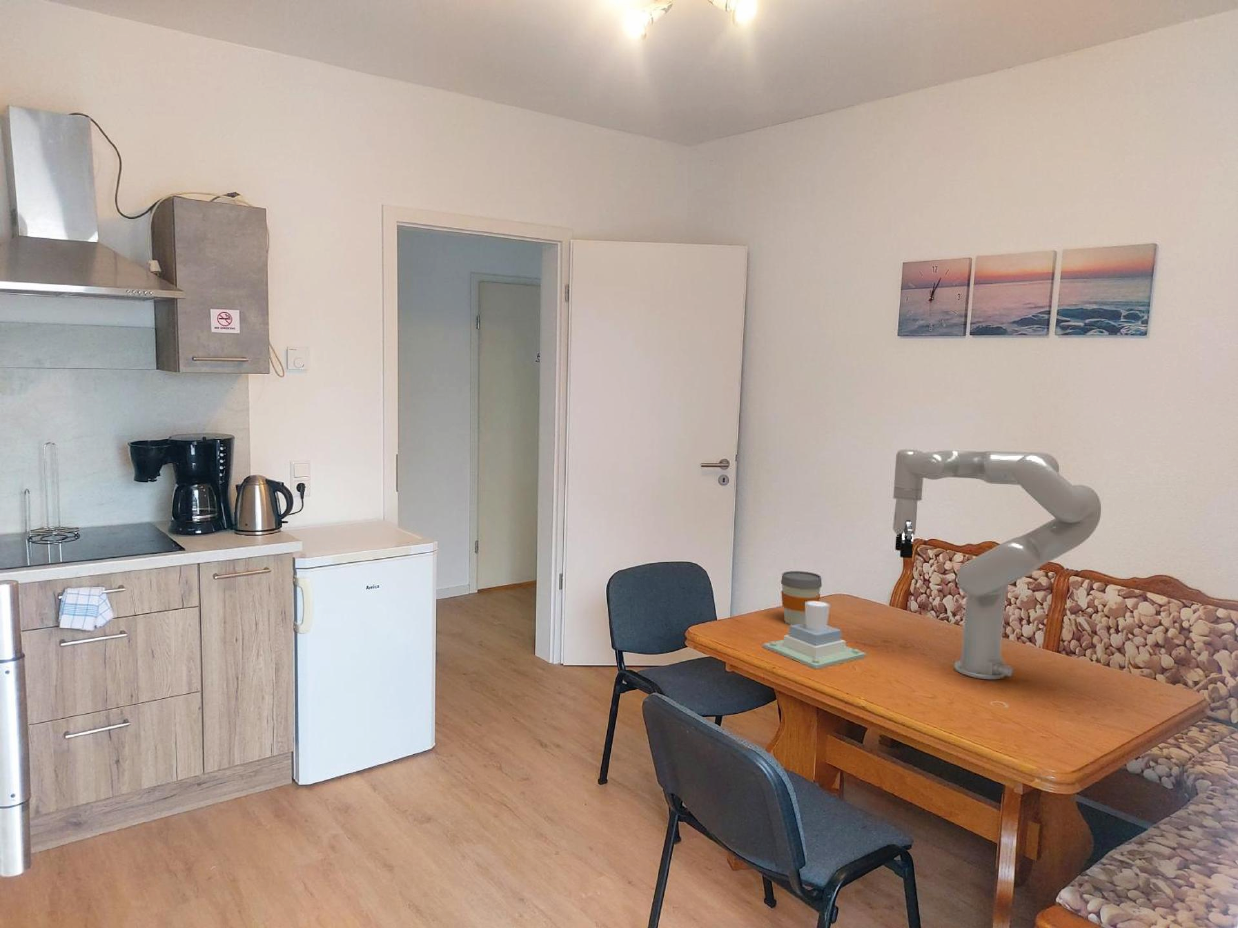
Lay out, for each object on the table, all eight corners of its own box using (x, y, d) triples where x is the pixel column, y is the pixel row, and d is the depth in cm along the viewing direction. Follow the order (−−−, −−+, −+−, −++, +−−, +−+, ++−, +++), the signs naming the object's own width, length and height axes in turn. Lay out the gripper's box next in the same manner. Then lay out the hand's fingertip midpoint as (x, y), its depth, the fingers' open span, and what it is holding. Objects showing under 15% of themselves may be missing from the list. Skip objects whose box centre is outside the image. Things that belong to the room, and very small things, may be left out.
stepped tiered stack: (865, 656, 231) (867, 632, 230) (815, 669, 220) (817, 643, 219) (812, 636, 248) (813, 614, 247) (763, 647, 237) (764, 623, 236)
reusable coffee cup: (775, 624, 260) (777, 577, 258) (783, 614, 271) (785, 569, 269) (815, 630, 255) (818, 582, 253) (822, 619, 266) (825, 573, 265)
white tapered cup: (810, 622, 238) (812, 598, 237) (832, 627, 234) (834, 603, 233) (799, 627, 233) (800, 603, 232) (821, 633, 228) (823, 608, 228)
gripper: (889, 489, 241) (885, 547, 243) (897, 497, 225) (893, 559, 226) (916, 490, 240) (912, 548, 242) (927, 499, 223) (922, 561, 225)
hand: (903, 553), depth 234 cm, fingers open, 9 cm apart
